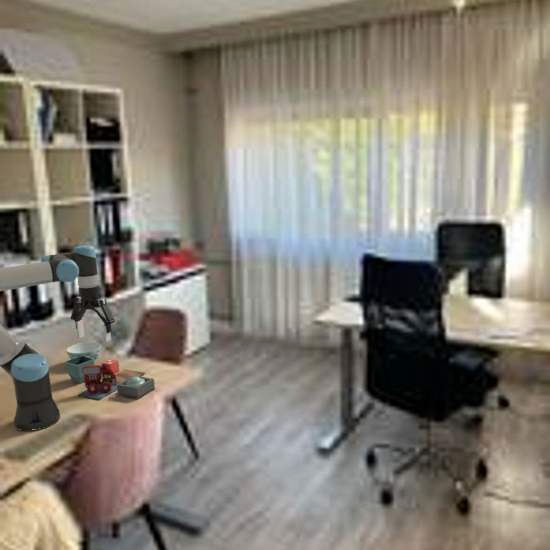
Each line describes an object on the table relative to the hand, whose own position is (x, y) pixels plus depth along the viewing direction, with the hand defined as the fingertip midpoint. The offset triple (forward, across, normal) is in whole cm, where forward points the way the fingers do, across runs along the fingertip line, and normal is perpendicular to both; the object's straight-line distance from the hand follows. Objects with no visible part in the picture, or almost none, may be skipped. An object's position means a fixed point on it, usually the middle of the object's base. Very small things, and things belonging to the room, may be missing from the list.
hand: (94, 338), depth 226 cm
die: (+22, +10, -17) cm, 30 cm away
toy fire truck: (+21, 0, 0) cm, 21 cm away
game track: (+22, 0, -7) cm, 23 cm away
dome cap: (+20, -15, -4) cm, 25 cm away
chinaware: (+22, +29, -22) cm, 43 cm away
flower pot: (+22, +16, -6) cm, 28 cm away
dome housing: (+22, -15, -4) cm, 27 cm away
